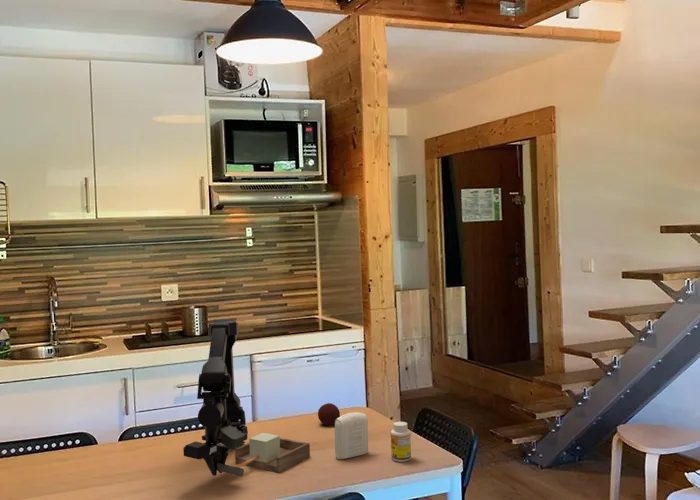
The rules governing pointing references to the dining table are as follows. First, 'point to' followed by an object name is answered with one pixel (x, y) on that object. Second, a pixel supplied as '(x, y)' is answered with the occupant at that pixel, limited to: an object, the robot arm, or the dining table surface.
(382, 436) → the dining table surface
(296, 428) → the dining table surface
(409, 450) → the supplement bottle
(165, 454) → the dining table surface
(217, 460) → the robot arm
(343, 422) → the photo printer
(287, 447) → the brown wooden tray
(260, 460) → the corded block
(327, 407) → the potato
